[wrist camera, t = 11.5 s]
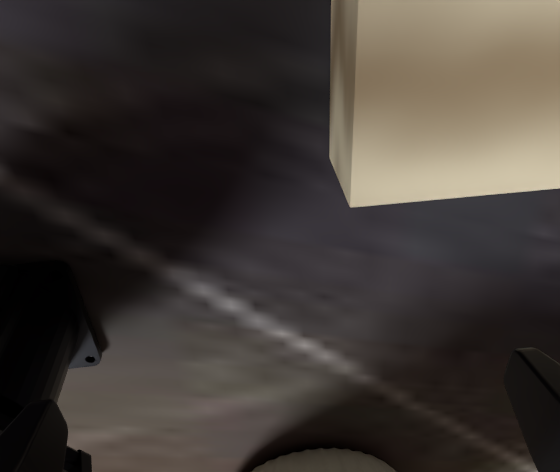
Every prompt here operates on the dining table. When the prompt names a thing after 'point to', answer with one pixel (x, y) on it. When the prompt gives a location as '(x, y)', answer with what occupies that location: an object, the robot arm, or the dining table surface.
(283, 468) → the canister
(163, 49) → the dining table surface
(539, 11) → the hole block
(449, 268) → the dining table surface
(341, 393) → the dining table surface
